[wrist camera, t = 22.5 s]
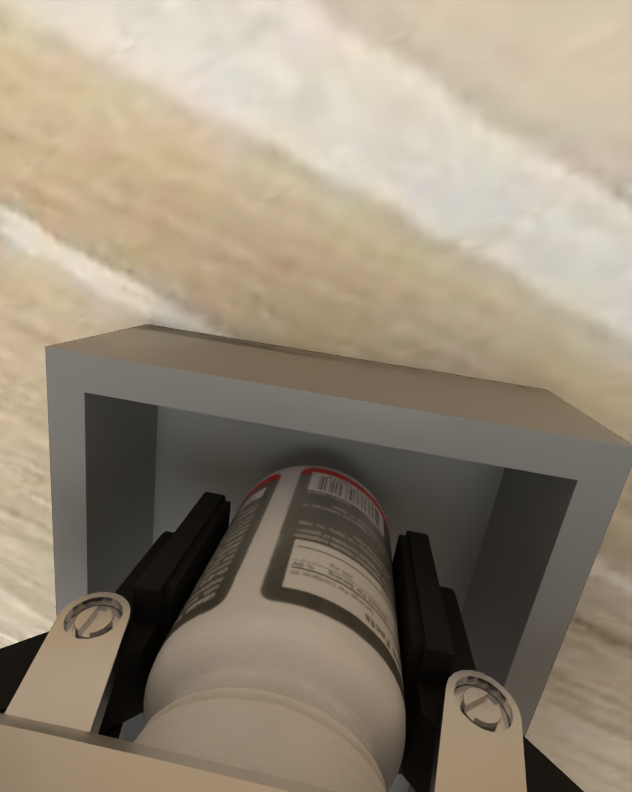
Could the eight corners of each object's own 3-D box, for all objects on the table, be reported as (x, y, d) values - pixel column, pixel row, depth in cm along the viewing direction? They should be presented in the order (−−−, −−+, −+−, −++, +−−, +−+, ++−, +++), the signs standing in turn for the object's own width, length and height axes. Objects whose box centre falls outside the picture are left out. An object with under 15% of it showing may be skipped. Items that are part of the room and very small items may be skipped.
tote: (546, 390, 14) (639, 448, 9) (411, 823, 20) (424, 991, 16) (146, 324, 15) (45, 347, 10) (134, 757, 21) (68, 895, 17)
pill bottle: (263, 602, 14) (125, 1022, 6) (221, 475, 13) (-13, 785, 5) (404, 583, 13) (457, 1042, 5) (372, 446, 12) (376, 767, 4)
